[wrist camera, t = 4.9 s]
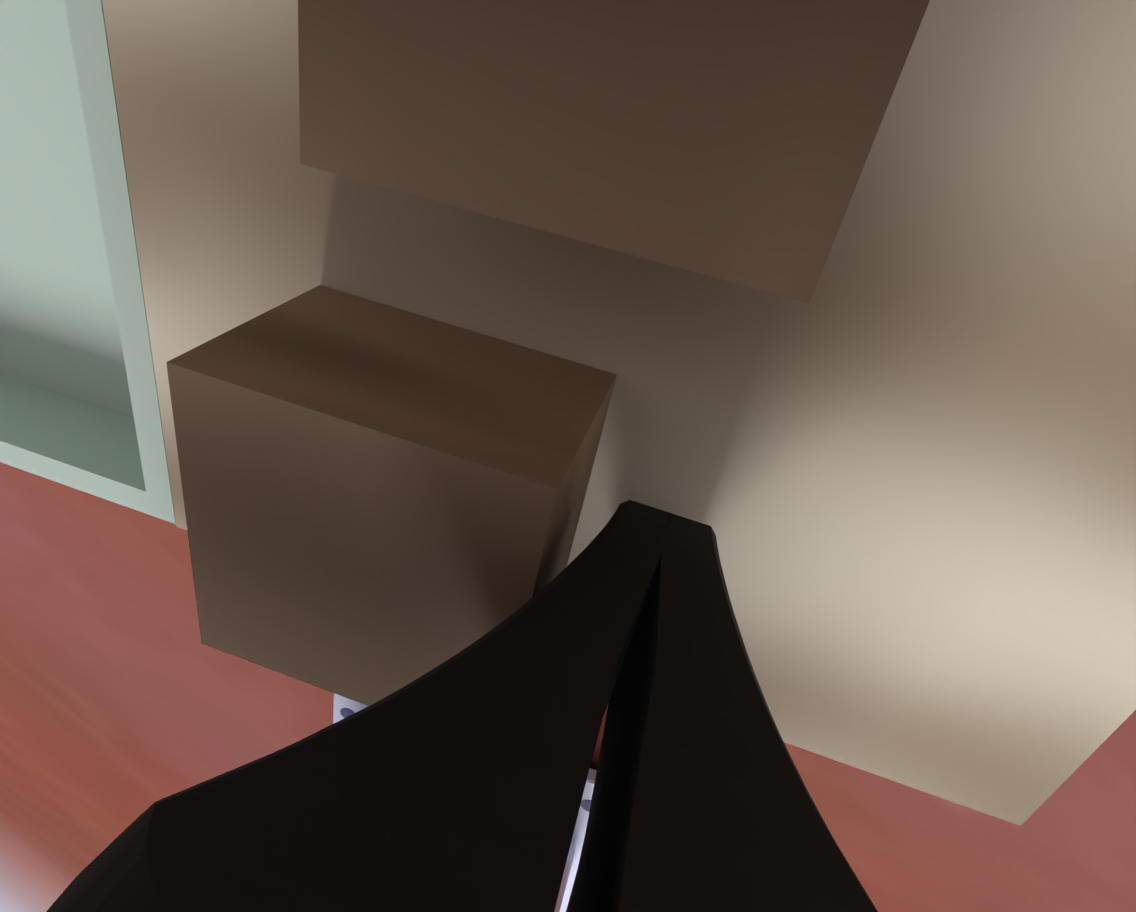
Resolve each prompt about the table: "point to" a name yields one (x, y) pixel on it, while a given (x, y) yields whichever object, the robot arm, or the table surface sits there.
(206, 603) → the walnut block
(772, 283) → the walnut block
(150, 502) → the box
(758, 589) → the maple board
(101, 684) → the table surface
